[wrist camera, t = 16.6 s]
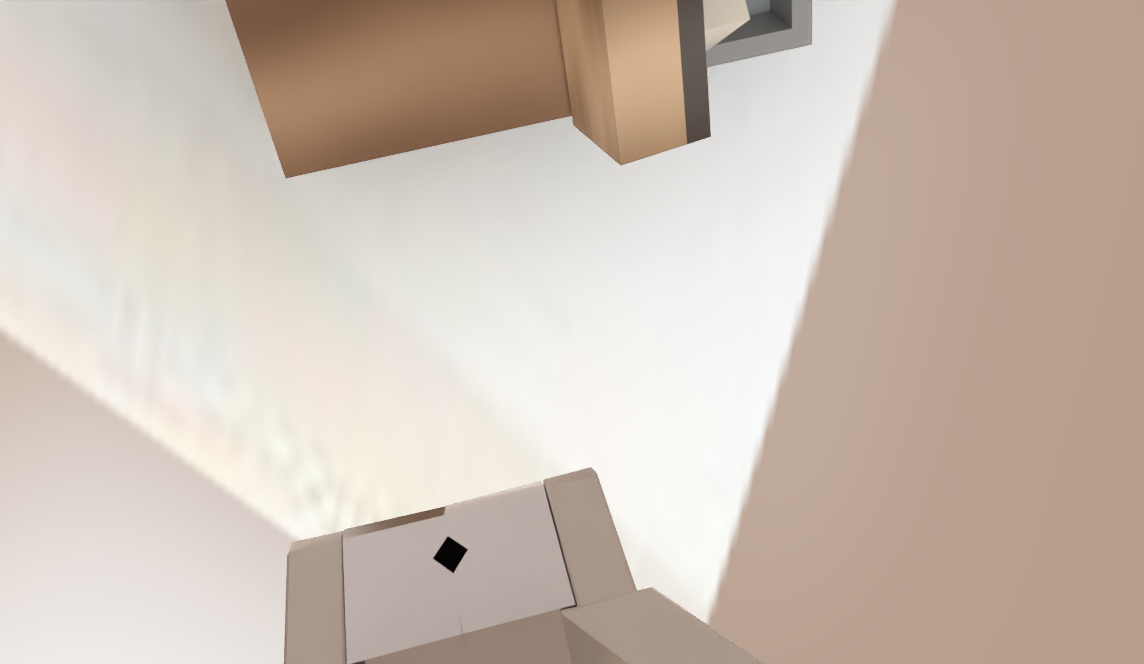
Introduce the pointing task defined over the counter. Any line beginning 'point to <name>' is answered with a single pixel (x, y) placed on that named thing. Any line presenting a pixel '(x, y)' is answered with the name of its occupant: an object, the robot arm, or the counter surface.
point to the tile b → (722, 19)
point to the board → (398, 73)
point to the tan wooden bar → (636, 73)
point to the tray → (766, 31)
